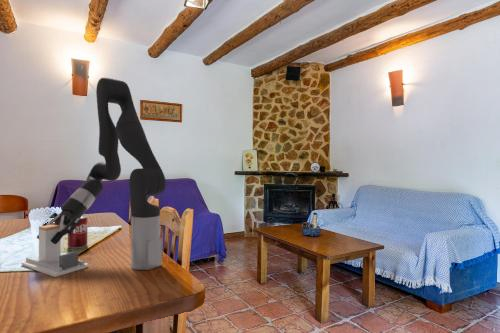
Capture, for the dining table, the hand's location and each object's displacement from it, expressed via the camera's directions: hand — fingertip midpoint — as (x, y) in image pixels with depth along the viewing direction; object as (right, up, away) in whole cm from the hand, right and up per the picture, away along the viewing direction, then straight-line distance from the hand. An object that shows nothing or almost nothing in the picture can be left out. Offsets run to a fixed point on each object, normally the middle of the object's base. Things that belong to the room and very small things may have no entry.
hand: (45, 241), depth 109 cm
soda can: (-2, -8, +24) cm, 26 cm away
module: (0, -7, +1) cm, 7 cm away
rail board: (+3, -8, 0) cm, 9 cm away
